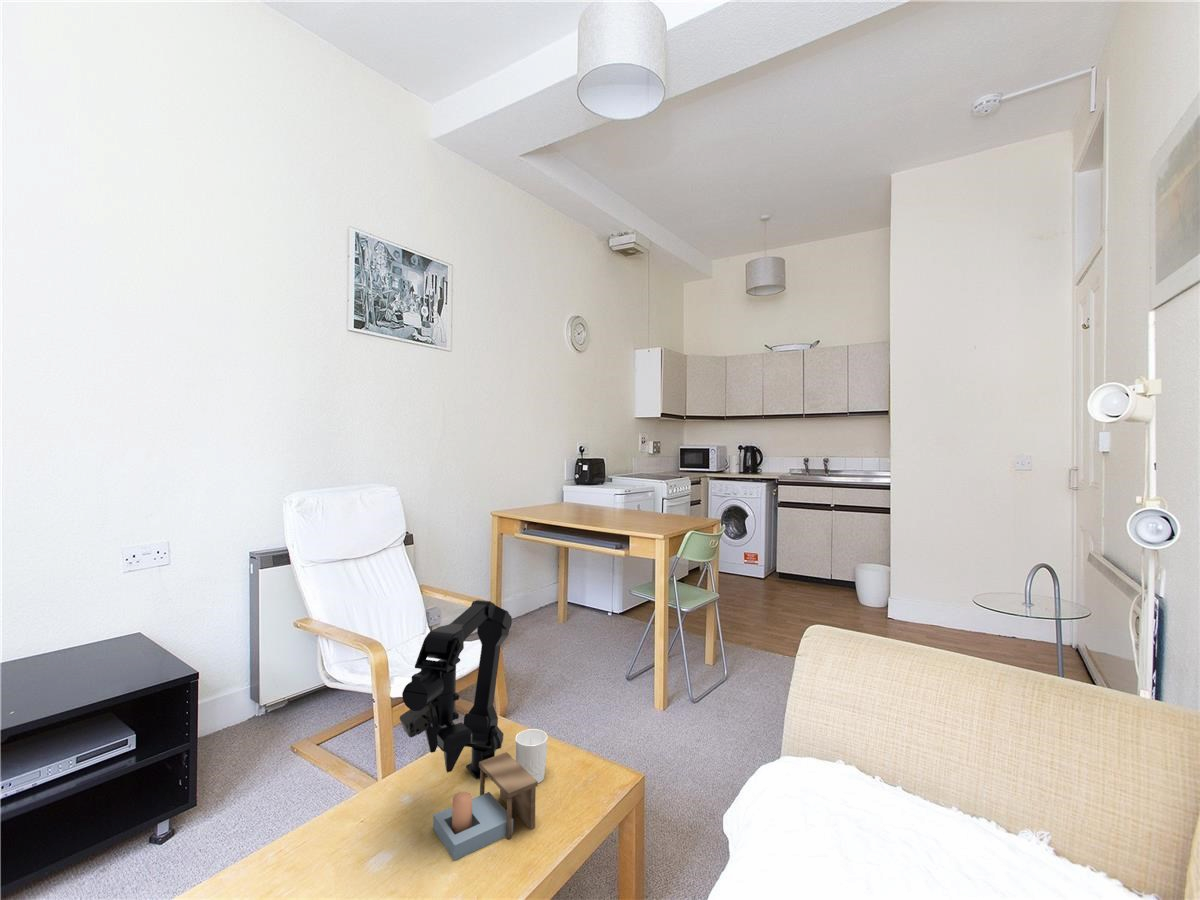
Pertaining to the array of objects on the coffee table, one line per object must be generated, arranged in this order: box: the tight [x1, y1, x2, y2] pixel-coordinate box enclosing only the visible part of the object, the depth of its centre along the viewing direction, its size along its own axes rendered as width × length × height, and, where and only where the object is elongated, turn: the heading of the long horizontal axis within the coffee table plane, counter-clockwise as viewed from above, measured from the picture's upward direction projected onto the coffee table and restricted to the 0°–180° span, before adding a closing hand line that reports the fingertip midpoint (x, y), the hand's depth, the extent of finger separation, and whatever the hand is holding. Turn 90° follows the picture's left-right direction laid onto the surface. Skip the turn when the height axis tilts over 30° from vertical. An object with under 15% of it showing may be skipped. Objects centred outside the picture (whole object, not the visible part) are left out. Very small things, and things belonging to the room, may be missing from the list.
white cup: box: [514, 728, 548, 784], centre depth 135 cm, size 8×8×10 cm
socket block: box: [432, 791, 514, 861], centre depth 115 cm, size 11×13×3 cm
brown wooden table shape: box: [479, 751, 539, 840], centre depth 120 cm, size 14×7×10 cm, turn 38°
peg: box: [451, 791, 473, 834], centre depth 114 cm, size 4×4×8 cm
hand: (440, 761), depth 118 cm, fingers open, 9 cm apart
